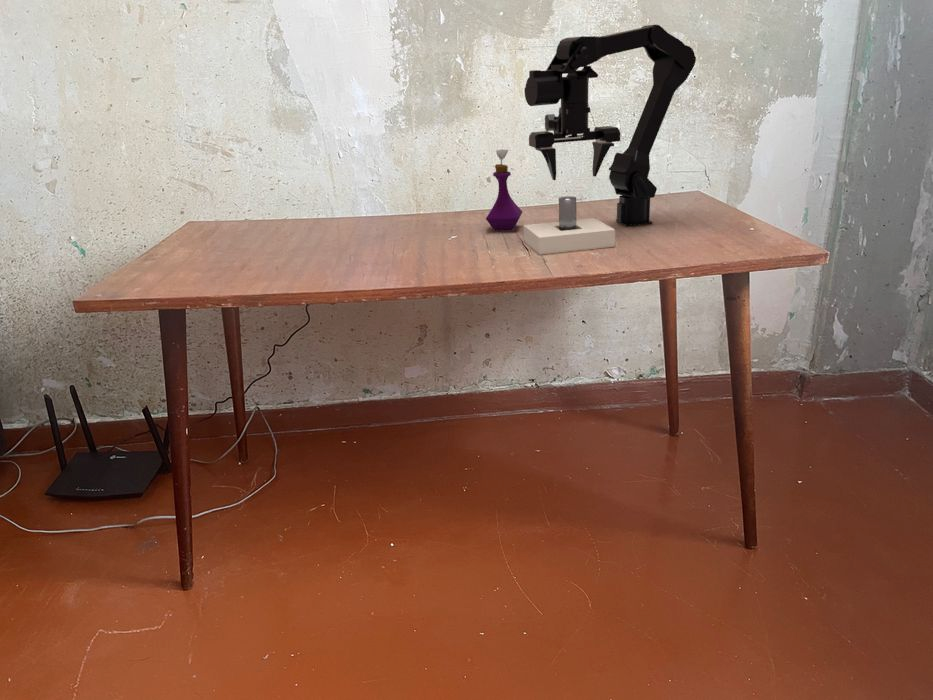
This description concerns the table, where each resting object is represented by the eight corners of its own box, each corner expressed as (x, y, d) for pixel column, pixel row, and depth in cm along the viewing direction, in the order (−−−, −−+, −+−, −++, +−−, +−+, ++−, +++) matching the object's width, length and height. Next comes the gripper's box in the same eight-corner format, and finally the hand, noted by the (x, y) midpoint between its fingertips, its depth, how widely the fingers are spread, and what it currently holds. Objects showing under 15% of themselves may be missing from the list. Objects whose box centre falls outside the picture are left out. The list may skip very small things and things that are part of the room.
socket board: (593, 233, 156) (594, 218, 155) (614, 246, 145) (615, 229, 144) (523, 241, 153) (523, 225, 152) (539, 254, 143) (539, 237, 141)
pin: (573, 237, 151) (572, 195, 147) (579, 241, 148) (578, 198, 144) (557, 239, 150) (556, 197, 147) (562, 243, 147) (561, 200, 144)
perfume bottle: (518, 232, 161) (516, 151, 154) (486, 232, 163) (482, 152, 156) (522, 225, 168) (520, 147, 161) (491, 225, 169) (488, 148, 162)
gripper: (602, 97, 156) (601, 169, 162) (521, 103, 153) (522, 176, 159) (622, 99, 146) (620, 176, 152) (535, 106, 143) (537, 184, 149)
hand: (574, 178), depth 153 cm, fingers open, 9 cm apart
